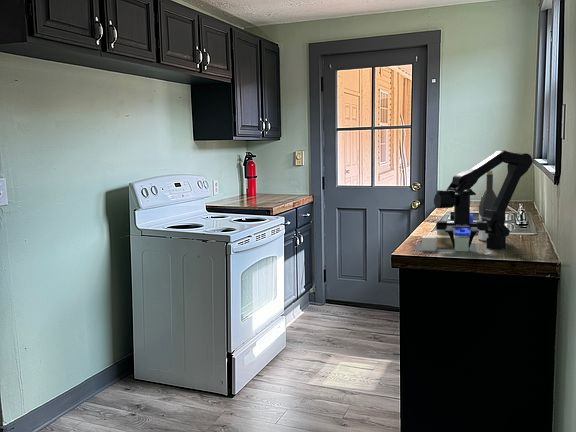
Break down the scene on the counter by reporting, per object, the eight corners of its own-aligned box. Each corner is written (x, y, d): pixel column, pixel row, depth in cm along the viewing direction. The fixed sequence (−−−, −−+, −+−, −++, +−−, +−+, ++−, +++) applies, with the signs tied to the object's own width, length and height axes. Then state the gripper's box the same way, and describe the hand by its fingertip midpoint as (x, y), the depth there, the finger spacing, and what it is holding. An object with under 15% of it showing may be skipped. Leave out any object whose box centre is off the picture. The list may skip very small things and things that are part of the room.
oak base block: (454, 244, 221) (454, 234, 221) (454, 247, 214) (454, 237, 214) (436, 244, 223) (436, 234, 223) (436, 247, 216) (436, 237, 216)
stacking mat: (475, 245, 223) (475, 223, 221) (477, 255, 204) (477, 231, 203) (417, 244, 229) (417, 223, 228) (413, 253, 210) (413, 230, 209)
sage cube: (468, 249, 211) (468, 236, 210) (468, 251, 206) (468, 238, 205) (454, 248, 212) (454, 235, 211) (454, 251, 207) (454, 238, 207)
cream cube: (436, 248, 214) (436, 235, 213) (435, 250, 209) (435, 238, 209) (422, 248, 216) (422, 235, 215) (422, 250, 211) (422, 237, 210)
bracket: (454, 231, 261) (454, 212, 260) (472, 231, 258) (473, 212, 257) (451, 237, 245) (452, 217, 243) (471, 238, 242) (471, 218, 241)
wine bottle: (500, 244, 224) (502, 171, 220) (479, 244, 226) (480, 171, 222) (497, 241, 232) (498, 170, 228) (477, 240, 233) (478, 170, 230)
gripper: (487, 205, 212) (486, 244, 214) (437, 204, 217) (436, 243, 219) (488, 208, 201) (487, 250, 203) (436, 208, 207) (436, 248, 209)
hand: (461, 247), depth 209 cm, fingers closed on sage cube, 5 cm apart
